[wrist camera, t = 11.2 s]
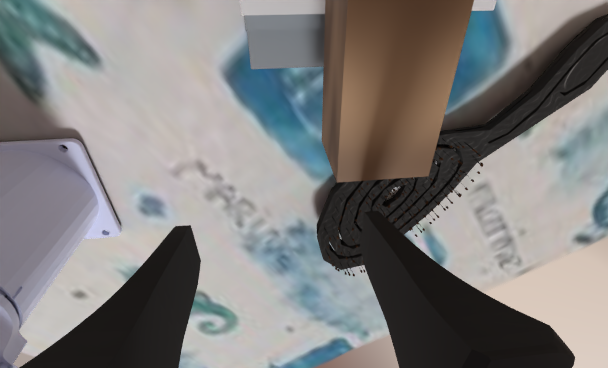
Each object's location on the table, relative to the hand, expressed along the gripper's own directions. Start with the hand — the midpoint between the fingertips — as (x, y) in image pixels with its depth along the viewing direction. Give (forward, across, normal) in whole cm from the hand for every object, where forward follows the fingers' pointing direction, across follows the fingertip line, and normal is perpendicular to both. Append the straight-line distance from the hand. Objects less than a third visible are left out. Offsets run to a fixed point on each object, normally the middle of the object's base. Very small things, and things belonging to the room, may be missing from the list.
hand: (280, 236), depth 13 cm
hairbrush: (+10, -13, +2) cm, 16 cm away
